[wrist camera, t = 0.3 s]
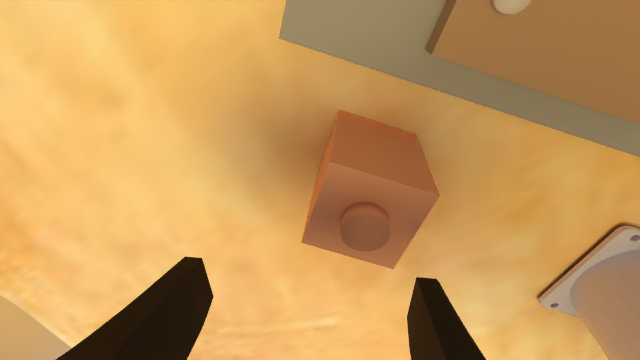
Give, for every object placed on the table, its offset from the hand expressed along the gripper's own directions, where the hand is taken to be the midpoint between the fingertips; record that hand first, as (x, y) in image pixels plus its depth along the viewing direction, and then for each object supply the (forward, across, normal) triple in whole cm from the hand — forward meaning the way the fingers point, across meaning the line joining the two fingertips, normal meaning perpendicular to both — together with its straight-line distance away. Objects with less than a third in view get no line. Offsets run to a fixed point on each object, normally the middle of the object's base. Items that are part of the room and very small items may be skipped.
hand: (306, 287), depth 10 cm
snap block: (+10, -2, 0) cm, 10 cm away
